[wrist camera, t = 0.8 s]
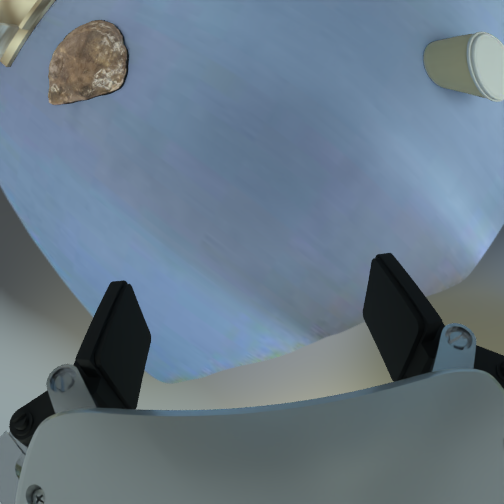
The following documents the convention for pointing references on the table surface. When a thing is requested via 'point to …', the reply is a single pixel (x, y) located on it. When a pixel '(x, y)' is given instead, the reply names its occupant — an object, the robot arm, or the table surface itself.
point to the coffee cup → (468, 64)
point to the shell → (88, 63)
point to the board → (18, 25)
